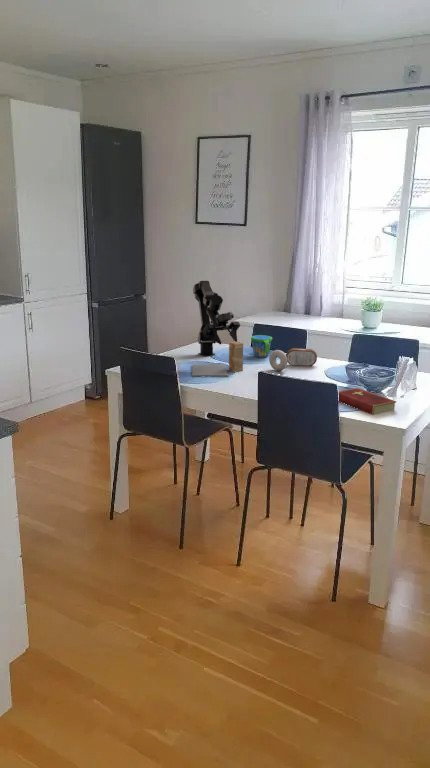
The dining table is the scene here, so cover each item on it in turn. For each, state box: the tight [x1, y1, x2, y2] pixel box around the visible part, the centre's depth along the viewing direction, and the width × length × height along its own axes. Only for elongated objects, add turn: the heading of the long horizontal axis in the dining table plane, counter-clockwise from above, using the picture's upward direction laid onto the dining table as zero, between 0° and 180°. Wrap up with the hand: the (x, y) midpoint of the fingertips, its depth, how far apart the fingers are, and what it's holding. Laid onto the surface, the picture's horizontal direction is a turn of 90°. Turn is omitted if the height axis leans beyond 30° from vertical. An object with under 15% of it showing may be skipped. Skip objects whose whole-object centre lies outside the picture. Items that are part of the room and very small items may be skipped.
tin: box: [285, 347, 318, 367], centre depth 297 cm, size 15×3×8 cm, turn 84°
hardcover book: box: [338, 387, 397, 416], centre depth 239 cm, size 12×21×4 cm, turn 31°
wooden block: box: [228, 341, 244, 373], centre depth 287 cm, size 5×4×13 cm
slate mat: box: [191, 363, 229, 378], centre depth 286 cm, size 20×16×1 cm
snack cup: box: [250, 334, 273, 358], centre depth 315 cm, size 16×10×10 cm
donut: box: [268, 349, 288, 372], centre depth 287 cm, size 10×4×10 cm, turn 46°
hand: (228, 342), depth 290 cm, fingers open, 9 cm apart
